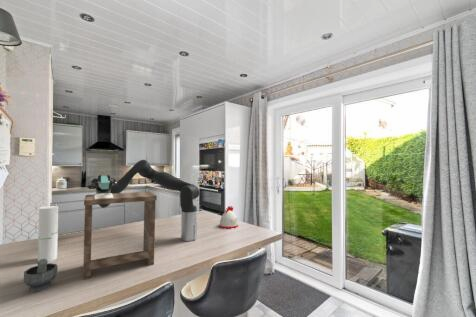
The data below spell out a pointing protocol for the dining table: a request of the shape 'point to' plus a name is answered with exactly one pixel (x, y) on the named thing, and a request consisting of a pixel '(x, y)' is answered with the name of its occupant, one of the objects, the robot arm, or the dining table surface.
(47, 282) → the mortar and pestle
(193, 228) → the robot arm
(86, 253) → the stand
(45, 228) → the cylindrical container
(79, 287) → the dining table surface
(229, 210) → the kitchen timer
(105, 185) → the teal square bar
